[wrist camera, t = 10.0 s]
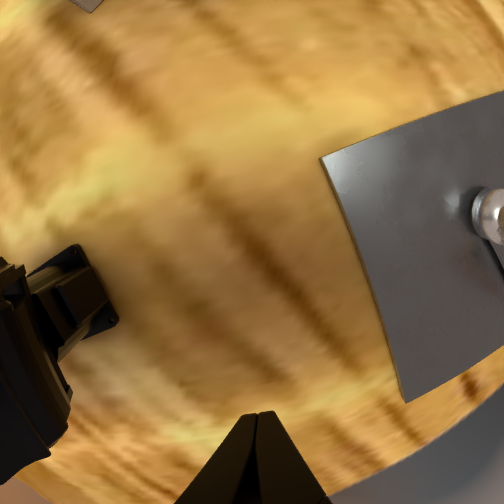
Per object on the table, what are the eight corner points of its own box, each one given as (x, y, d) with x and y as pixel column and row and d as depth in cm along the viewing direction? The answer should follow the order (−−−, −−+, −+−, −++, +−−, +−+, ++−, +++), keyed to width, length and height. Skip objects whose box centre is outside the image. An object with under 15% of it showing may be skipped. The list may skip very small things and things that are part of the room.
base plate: (401, 396, 22) (405, 403, 21) (318, 158, 18) (322, 157, 17) (547, 300, 20) (553, 304, 19) (508, 89, 16) (516, 87, 15)
